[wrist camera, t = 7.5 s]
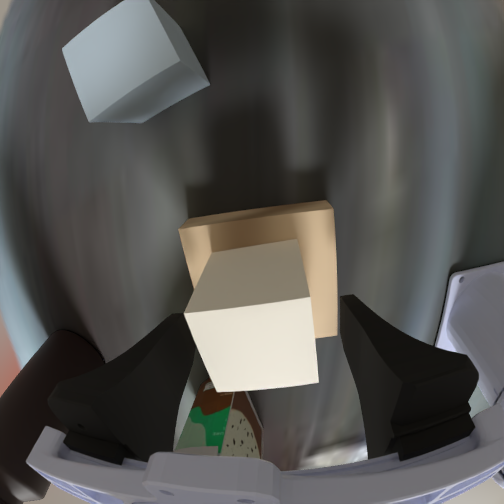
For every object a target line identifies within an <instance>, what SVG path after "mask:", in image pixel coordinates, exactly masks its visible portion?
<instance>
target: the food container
mask: <svg viewBox="0 0 504 504" xmlns="http://www.w3.org/2000/svg"><path fill="white" fill-rule="evenodd" d="M173 452H175V453H184V454H195V455H208V456H231V457H250V458H259V459H262V460H263V427H262V424H261V422H260V420H259V417H258V415H257V413H256V410H255V408H254V406H253V403H252V401H251V399H250V396H249V394H248V391H233V392H217V391H216V389H215V386H214V384H213V382H212V380H211V378H210V377H209V378H208V379H207V380H206V381H205V382H203V383H202V384H201V385H200V388H199V390H198V393H197V395H196V398H195V401H194V403H193V406H192V408H191V411H190V413H189V416H188V418H187V421H186V423H185V426H184V429H183V431H182V434H181V436H180V439H179V441H178V444H177V446H176V449H175V451H173Z"/></svg>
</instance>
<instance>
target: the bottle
mask: <svg viewBox="0 0 504 504" xmlns="http://www.w3.org/2000/svg"><path fill="white" fill-rule="evenodd" d="M102 365H104V362H103V360H102V358H101V356H100V355H99V353H98V352H97V351H96V350H95V349H94V348H93V346H91V345H90V344H89V343H88V342H87V341H86V340H85V339H83V338H81V337H80V336H78V335H77V334H75V333H72V332H69V331H66V330H58V331H56V332H54V333H52V335H51V336H50V337H49V338H48V339H47V340H46V341H45V343H44V344H43V345H42V346H41V347H40V348H39V350H38V351H37V352H36V353H35V354H34V355H33V357H32V358H31V359H30V360H29V361H28V363H27V364H26V365H25V366H24V368H23V369H22V370H21V371H20V373H19V374H18V375H17V376H16V378H15V379H14V380H13V381H12V383H11V384H10V386H9V387H8V388H7V389H6V391H5V392H4V393H3V395H2V396H1V398H0V504H23V502H26V501H34V500H40V499H43V498H44V497H45V495H46V492H47V490H48V488H49V486H50V484H51V482H50V481H48V480H47V479H46V478H44V477H43V476H42V475H40V474H39V473H38V472H37V471H35V470H34V469H33V468H32V467H31V466H29V465H28V464H27V463H26V460H27V458H28V456H29V454H30V453H31V451H32V449H33V447H34V445H35V444H36V442H37V440H38V438H39V437H40V435H41V433H42V431H43V430H44V428H45V426H48V427H51V428H54V429H56V430H59V431H61V432H63V433H64V434H66V435H67V433H68V431H69V430H68V429H67V428H66V427H65V425H64V424H63V423H62V422H61V421H60V420H59V419H58V418H57V416H56V415H55V414H54V413H53V412H52V410H51V409H50V407H49V405H48V398H49V396H50V395H51V393H52V392H53V390H54V389H55V387H56V386H57V384H58V383H59V382H60V381H64V380H67V379H70V378H74V377H77V376H80V375H82V374H85V373H87V372H90V371H92V370H94V369H97V368H99V367H101V366H102Z"/></svg>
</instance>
